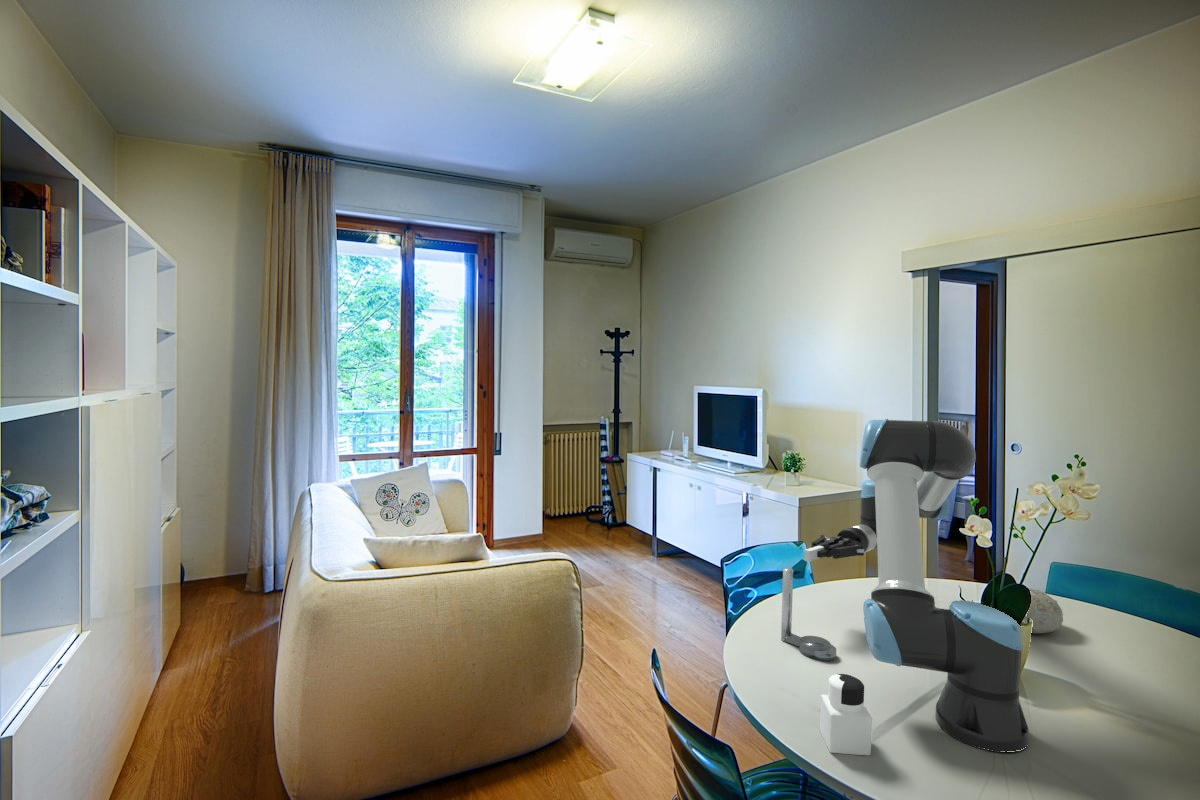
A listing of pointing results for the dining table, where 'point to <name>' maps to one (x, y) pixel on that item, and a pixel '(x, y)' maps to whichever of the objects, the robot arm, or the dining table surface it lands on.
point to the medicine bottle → (845, 717)
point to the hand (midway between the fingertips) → (807, 555)
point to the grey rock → (1044, 612)
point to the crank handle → (807, 644)
